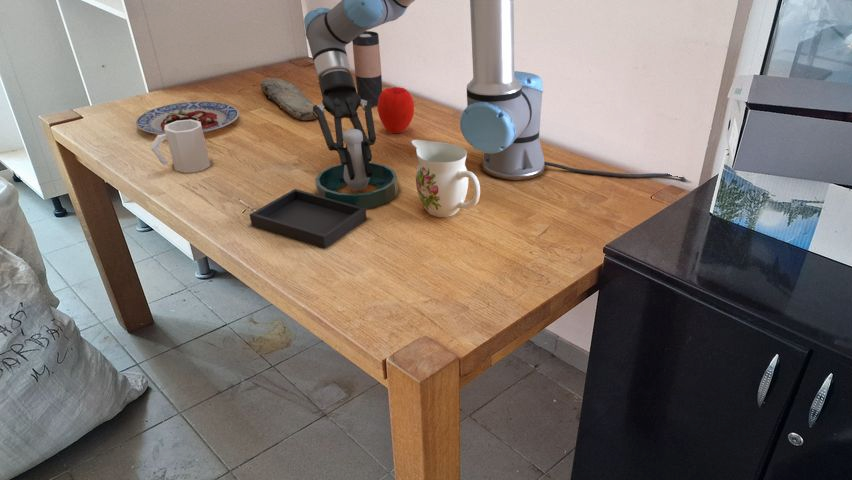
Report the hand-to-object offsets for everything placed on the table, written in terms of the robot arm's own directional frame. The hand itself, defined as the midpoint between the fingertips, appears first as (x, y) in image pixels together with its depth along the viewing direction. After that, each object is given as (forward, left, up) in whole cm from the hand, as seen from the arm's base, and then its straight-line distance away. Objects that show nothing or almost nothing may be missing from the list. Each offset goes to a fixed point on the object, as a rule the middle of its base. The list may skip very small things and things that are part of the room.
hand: (360, 176), depth 141 cm
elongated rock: (+56, -41, -6) cm, 70 cm away
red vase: (+16, -38, -6) cm, 42 cm away
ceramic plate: (+67, -14, -6) cm, 69 cm away
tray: (+3, +14, -5) cm, 15 cm away
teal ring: (+3, -2, -5) cm, 7 cm away
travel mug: (+36, -54, -6) cm, 65 cm away
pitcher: (-19, -4, -6) cm, 20 cm away
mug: (+46, +7, -6) cm, 47 cm away
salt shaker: (+3, -2, -4) cm, 6 cm away
